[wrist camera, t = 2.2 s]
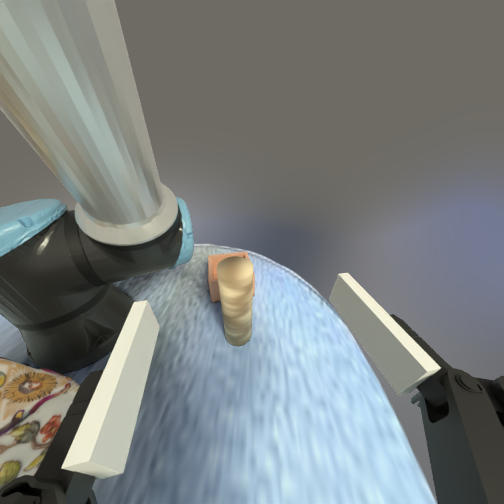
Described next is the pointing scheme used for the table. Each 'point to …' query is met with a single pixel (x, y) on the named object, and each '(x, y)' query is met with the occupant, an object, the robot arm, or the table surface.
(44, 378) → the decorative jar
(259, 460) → the table surface
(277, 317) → the table surface
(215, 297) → the box
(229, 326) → the peg
